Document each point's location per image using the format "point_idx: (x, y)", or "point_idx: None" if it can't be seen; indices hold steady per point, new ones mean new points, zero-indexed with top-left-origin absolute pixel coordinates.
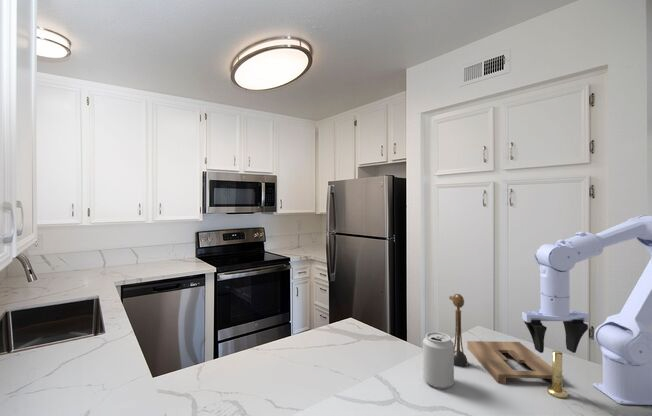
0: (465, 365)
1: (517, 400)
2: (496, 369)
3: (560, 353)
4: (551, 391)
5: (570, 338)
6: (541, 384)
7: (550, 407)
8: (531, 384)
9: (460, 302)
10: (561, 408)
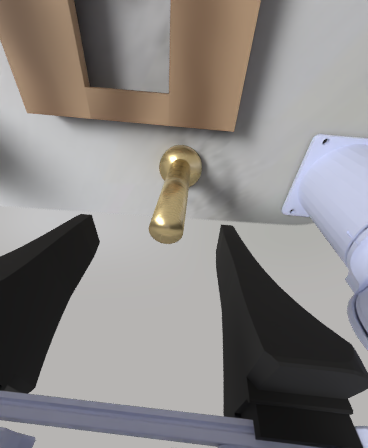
0: None
1: (78, 184)
2: (23, 74)
3: (171, 239)
4: (162, 173)
5: (227, 283)
6: None
7: (135, 207)
8: None
9: None
10: None
